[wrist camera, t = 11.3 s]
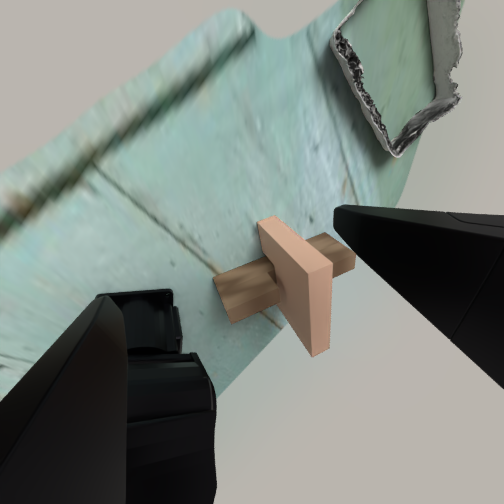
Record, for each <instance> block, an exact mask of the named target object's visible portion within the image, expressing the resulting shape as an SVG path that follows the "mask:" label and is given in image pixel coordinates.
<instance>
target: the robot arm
mask: <svg viewBox="0 0 504 504" xmlns="http://www.w3.org/2000/svg"><path fill="white" fill-rule="evenodd" d="M333 227H334V229H335V231H336V232H337V233H338V234H339V236H340V237H341V238H342V239H343V240H344V241H345V242H346V244H347V245H348V246H349V247H350V248H351V249H352V250H353V251H354V252H355V254H356V255H358V257H360V258H361V259H362V260H363V261H364V262H365V263H366V264H367V265H368V266H369V267H370V268H371V269H373V270H374V271H375V272H376V273H377V274H378V275H379V276H380V277H381V278H382V279H384V280H385V281H386V282H387V283H388V284H389V285H390V286H391V287H392V288H393V289H395V290H396V291H397V292H398V293H399V294H400V295H401V296H402V297H403V298H404V299H405V300H407V301H408V302H409V303H410V304H411V305H412V306H413V307H414V308H415V309H417V310H418V311H419V312H420V313H421V314H422V315H423V316H424V317H425V318H426V319H427V320H428V321H430V322H431V323H432V324H433V325H434V326H435V327H436V328H437V329H438V330H439V331H441V332H442V333H443V334H444V335H445V336H446V337H447V338H448V339H450V341H451V342H452V343H453V344H455V345H456V346H457V347H458V348H459V349H460V350H461V351H462V352H463V353H464V354H466V355H467V356H468V357H469V358H470V359H471V360H472V361H473V362H474V363H475V364H476V365H478V366H479V367H480V368H481V369H482V370H483V371H484V372H485V373H486V374H487V375H488V376H490V377H491V378H492V379H493V380H494V381H495V382H496V383H497V384H498V385H499V386H500V387H502V388H503V389H504V215H487V214H470V213H455V212H454V213H453V212H446V213H445V212H440V211H425V210H413V209H399V208H386V207H372V206H358V205H341V206H338V207H336V208H335V209H334V216H333ZM167 293H170V294H168V295H166V294H167ZM182 340H183V336H182V329H181V323H180V317H179V311H178V308H177V307H176V306H173V290H172V289H157V290H144V291H131V292H118V293H105V294H98V295H97V296H96V297H95V300H93V301H92V302H91V303H90V304H89V305H88V306H87V307H86V308H85V310H84V311H83V312H82V313H81V314H80V315H79V316H78V317H77V318H76V319H75V321H74V322H73V323H72V324H71V325H70V326H69V327H68V328H67V329H66V330H65V331H64V333H63V334H62V335H61V336H60V337H59V338H58V339H57V340H56V341H55V342H54V344H53V345H52V346H51V347H50V348H49V349H48V350H47V351H46V352H45V353H44V354H43V356H42V357H41V358H40V359H39V360H38V361H37V362H36V363H35V364H34V365H33V366H32V368H31V369H30V370H29V371H28V372H27V373H26V374H25V375H24V376H23V377H22V379H21V380H20V381H19V382H18V383H17V384H16V385H15V386H14V387H13V388H12V389H11V391H10V392H9V393H8V394H7V395H6V396H5V397H4V398H3V399H2V400H1V402H0V504H213V502H214V498H215V494H216V489H217V480H216V468H215V453H214V433H215V432H214V431H215V423H216V408H217V405H216V394H215V389H214V386H213V384H212V382H211V380H210V378H209V376H208V374H207V372H206V370H205V368H204V366H203V364H202V363H201V361H200V359H199V357H198V355H197V353H196V352H190V353H189V354H181V352H182Z"/></svg>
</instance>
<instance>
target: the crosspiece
mask: <svg viewBox="0 0 504 504" xmlns="http://www.w3.org/2000/svg"><path fill="white" fill-rule="evenodd" d="M257 225H258V230H259V235H260V240H261V246H262V251H263V252H264V254H265V255H266V256H267V257H268V259H269V260H270V261H271V262H272V263H273V265H274V268H275V274H276V280H277V283H276V285H277V286H278V288H279V294H280V301H281V302H280V303H277V306H278V307H279V309H280V310H281V312H282V313H283V315H284V316H285V318H286V319H287V321H288V322H289V324H290V325H291V327H292V328H293V330H294V331H295V333H296V334H297V336H298V337H299V339H300V340H301V342H302V343H303V345H304V346H305V348H306V349H307V351H308V352H309V354H310V355H311V357H314V356H316V355H318V354H320V353H321V352H323V351H325V350H327V349H329V348H330V323H331V298H332V274H333V263H332V262H331V261H330V260H329V259H327V258H326V257H325V256H324V255H322V254H321V253H320V252H319V251H318V250H316V249H315V248H314V247H313V246H312V245H310V244H309V243H308V242H307V241H305V240H304V239H303V238H302V237H301V236H299V235H298V234H297V233H296V232H295V231H293V230H292V229H291V228H290V227H289V226H287V225H286V224H285V223H284V222H282V221H281V220H280V219H279V218H278V217H276V216H275V215H274V216H272V217H269V218H266V219H263V220H261V221H258V222H257Z"/></svg>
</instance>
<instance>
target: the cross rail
mask: <svg viewBox="0 0 504 504" xmlns="http://www.w3.org/2000/svg"><path fill="white" fill-rule="evenodd" d="M305 241H307V242H308V243H309V244H310V245H312V246H313V247H314V248H315V249H316V250H318V251H319V252H320V253H321V254H322V255H324V256H325V257H326V258H327V259H329V260H330V261H331V262H332V263H333V274H332V278H334V277H337V276H339V275H341V274H343V273H345V272H348V271H350V270H352V269H354V267H355V258H356V254H355V253H354V252H353V251H352V250H350V249H349V248H347V247H346V246H344V245H343V244H341V243H340V242H339V241H337V240H336V239H334V238H333V237H331V236H330V235H328V234H327V233H325V232H324V233H322V234H320V235H317V236H315V237H312V238H310V239H307V240H305ZM213 279H214V282H215V285H216V287H217V290H218V292H219V295H220V297H221V300H222V302H223V305H224V307H225V310H226V312H227V315H228V317H229V320H230V322H231V324H233V323H236V322H238V321H240V320H242V319H244V318H247V317H249V316H251V315H253V314H255V313H258V312H260V311H262V310H264V309H266V308H269V307H271V306H273V305H275V304H277V303H280V302H281V301H280V294H279V288H278V286H277V285H276V283H277V280H276V274H275V268H274V265H273V263H272V262H271V261H270V260H269V259H268V257H267V256H265V257H262V258H260V259H257V260H255V261H252V262H250V263H247V264H245V265H242V266H240V267H237V268H235V269H232V270H230V271H228V272H225V273H223V274H220V275H218V276H215V277H213Z"/></svg>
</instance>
